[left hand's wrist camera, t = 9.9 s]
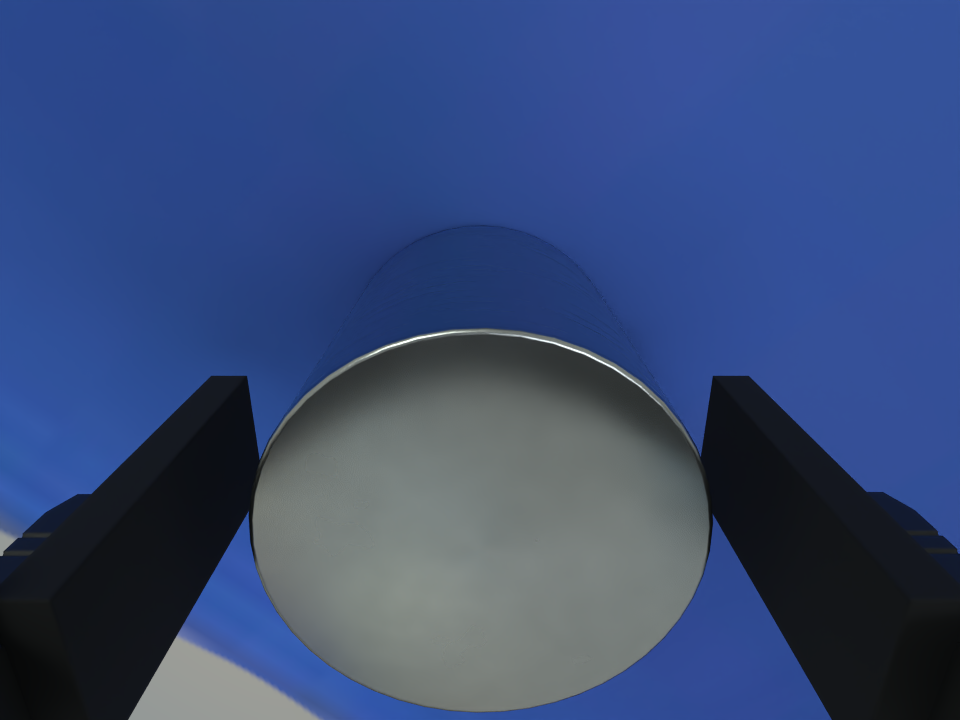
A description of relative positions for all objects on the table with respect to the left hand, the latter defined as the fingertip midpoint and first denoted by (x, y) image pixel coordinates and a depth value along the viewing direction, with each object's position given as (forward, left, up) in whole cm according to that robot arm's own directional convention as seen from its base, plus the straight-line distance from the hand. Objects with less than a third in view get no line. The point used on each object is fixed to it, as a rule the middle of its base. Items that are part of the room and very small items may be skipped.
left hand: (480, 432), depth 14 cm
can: (0, 0, -5) cm, 5 cm away
